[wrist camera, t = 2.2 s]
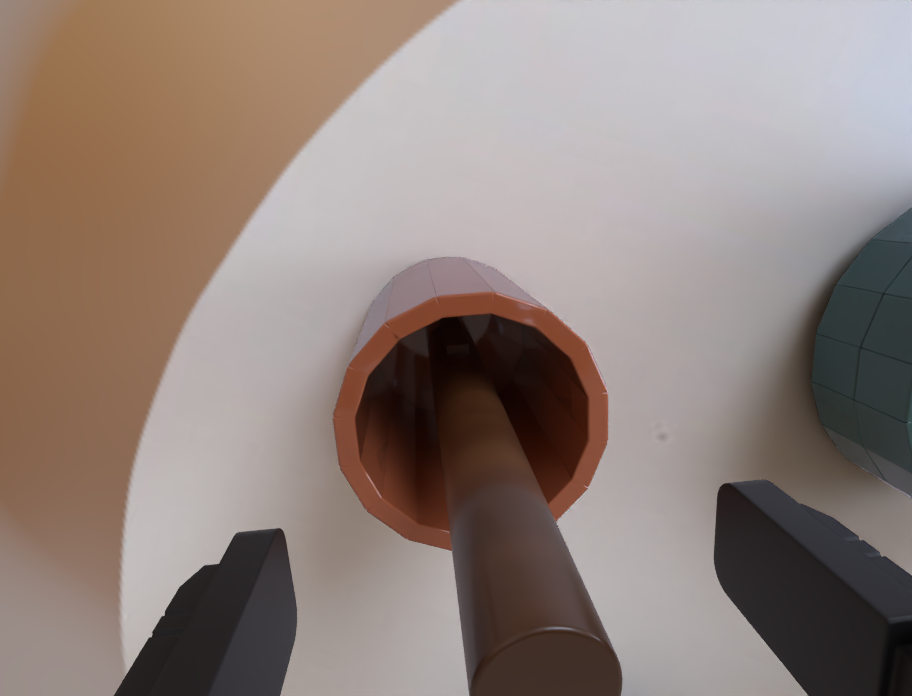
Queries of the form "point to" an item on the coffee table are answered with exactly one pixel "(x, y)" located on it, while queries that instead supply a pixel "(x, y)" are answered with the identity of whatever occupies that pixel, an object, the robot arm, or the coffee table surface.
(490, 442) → the stick
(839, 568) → the robot arm
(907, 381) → the bowl
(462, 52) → the coffee table surface
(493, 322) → the crock
